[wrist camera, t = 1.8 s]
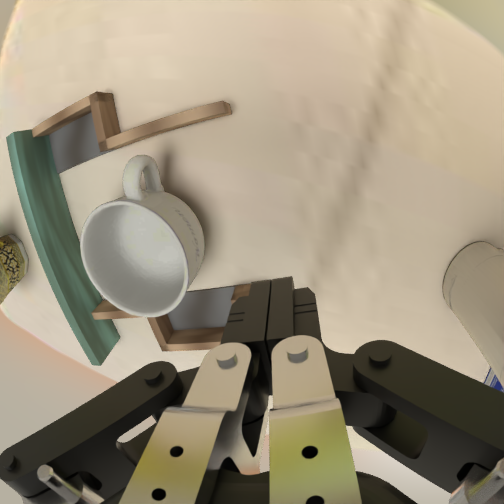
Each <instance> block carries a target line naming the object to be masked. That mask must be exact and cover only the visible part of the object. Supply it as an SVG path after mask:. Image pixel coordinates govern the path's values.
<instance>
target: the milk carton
mask: <svg viewBox="0 0 504 504" xmlns="http://www.w3.org/2000/svg"><path fill="white" fill-rule="evenodd" d="M484 384H486V385H488V386H490V387H492V388H495V389H497V390H499V391H502V392H504V388H503V386H502V385H501V383H500V381H499V380H498V378H497V376H496V375H495V373H494V371H493V370H492V368H490V371H489V373H488V375H487V378H486V380H485V382H484Z"/></svg>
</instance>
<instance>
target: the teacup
mask: <svg viewBox="0 0 504 504" xmlns="http://www.w3.org/2000/svg"><path fill="white" fill-rule="evenodd" d="M142 171H143V173H144V177H145V182H146V190H141V186H140V180H141V174H142ZM123 189H124V192H125V195H126V196H123V197H121V198H119V199H116V200H114V201H111V202H107V203H104V204H102V205H100V206H99V207H97V208H96V209H95V210H94V211H93V212H92V213H91V214H90V215H89V216H88V218H87V219H86V221H85V223H84V226H83V229H82V234H81V239H80V249H81V257H82V261H83V264H84V267H85V270H86V272H87V274H88V276H89V278H90V280H91V282H92V283H93V285H94V286H95V288H96V289H97V290H98V291H99V293H100V294H101V295H102V296H103V297H104V298H105V299H107V300H108V301H109V302H110V303H111V304H113V305H114V306H116V307H117V308H119V309H121V310H123V311H125V312H127V313H129V314H131V315H136V316H140V317H158V316H162V315H165V314H167V313H169V312H170V311H172V310H173V309H175V308H176V307H177V306H178V305H179V303H180V302H181V301H182V300H183V298H184V296H185V294H186V292H187V289H188V288H189V286H190V285H191V283H192V282H193V280H194V278H195V277H196V275H197V273H198V271H199V269H200V267H201V264H202V261H203V257H204V249H205V242H204V235H203V231H202V227H201V225H200V223H199V221H198V219H197V217H196V215H195V214H194V213H193V211H192V210H191V209H190V207H189V206H188V205H187V204H186V203H184V202H183V201H182V200H181V199H179V198H177V197H176V196H174V195H172V194H170V193H167V192H165V191H164V188H163V185H162V184H161V180H160V175H159V170H158V167H157V164H156V162H155V160H154V159H153V158H152V157H150V156H147V155H137V156H135V157H133V158H131V159H130V160H129V162H128V163H127V165H126V167H125V169H124V173H123Z"/></svg>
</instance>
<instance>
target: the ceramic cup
mask: <svg viewBox="0 0 504 504" xmlns="http://www.w3.org/2000/svg"><path fill="white" fill-rule="evenodd" d="M27 267H28V257H27V254H26V252H25V249H24V247H23V244H22V242H21V241H20V240H19V239H18V238H16V237H15V236H14V235H13V234H10V235H7V236H3V237H0V304H1V303H2V302H3V301H4V299H5V298H6V296H7V295H8V294H9V292H10V291H11V290H12V289H13V288H14V287H15V286H16V284H17V283H18V282H19V281H20V280H21V279H22V278H23V277H24V275H25V274H26V273H27Z"/></svg>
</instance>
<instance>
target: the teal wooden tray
mask: <svg viewBox="0 0 504 504" xmlns="http://www.w3.org/2000/svg"><path fill="white" fill-rule="evenodd" d="M230 114H231V109H230V105H229V104H228V103H226V102H224V101H220V102H216V103H212V104H208V105H205V106H201V107H197V108H194V109H190V110H187V111H184V112H180V113H177V114H174V115H171V116H168V117H164V118H161V119H158V120H155V121H153V122H150V123H147V124H144V125H141V126H138V127H136V128H133V129H130V130H128V131H125V132H123V133H120V128H119V124H118V119H117V114H116V109H115V104H114V99H113V94H111V93H103V92H95V93H93V94H91V95H89V96H87V97H85V98H83V99H82V100H80V101H78V102H76V103H74V104H72V105H71V106H69V107H67V108H65V109H64V110H62V111H60V112H59V113H57V114H55V115H54V116H52V117H50V118H49V119H47V120H45V121H44V122H42V123H41V124H39V125H38V126H36V127H35V128H33V129H31V130H24V131H17V132H13V133H11V134H10V135H9V136H8V137H6V139H7V145H8V151H9V156H10V161H11V166H12V170H13V175H14V179H15V183H16V187H17V191H18V195H19V198H20V202H21V205H22V209H23V212H24V215H25V219H26V222H27V225H28V228H29V231H30V234H31V237H32V240H33V242H34V245H35V248H36V251H37V253H38V256H39V259H40V261H41V264H42V266H43V269H44V271H45V273H46V276H47V278H48V281H49V283H50V285H51V287H52V290H53V292H54V294H55V296H56V298H57V300H58V303H59V305H60V307H61V309H62V311H63V313H64V315H65V317H66V319H67V321H68V323H69V325H70V327H71V328H72V330H73V332H74V334H75V336H76V338H77V340H78V341H79V343H80V345H81V347H82V348H83V350H84V352H85V354H86V355H87V357H88V359H89V360H90V362H91V364H92V365H98V366H101V365H102V363H103V362H104V360H105V359H106V357H107V356H108V354H109V353H110V352H111V350H112V349H113V347H114V346H115V344H116V343H117V342H118V340H119V339H120V336H119V334H118V332H117V330H116V328H115V326H114V324H113V322H112V320H111V319H119V318H136V317H140V316H136V315H131V314H129V313H127V312H125V311H123V310H121V309H119V308H117V307H116V306H114V305H113V304H111V303H110V302H109V301H108V300H102V298H101V296H100V293H99V291H98V290H97V289H96V288H95V286H94V285H93V283H92V282H91V280H90V278H89V276H88V274H87V272H86V270H85V267H84V264H83V261H82V257H81V249H80V243H79V240H78V237H77V234H76V231H75V228H74V225H73V222H72V219H71V216H70V213H69V210H68V206H67V203H66V199H65V196H64V192H63V189H62V185H61V181H60V178H59V173H61V172H63V171H65V170H67V169H70V168H72V167H74V166H76V165H79V164H81V163H83V162H86V161H88V160H90V159H93V158H95V157H98V156H100V155H103V154H105V153H108V152H110V151H113V150H115V149H118V148H121V147H123V146H126V145H129V144H132V143H134V142H137V141H140V140H143V139H146V138H149V137H152V136H155V135H158V134H161V133H164V132H167V131H171V130H174V129H177V128H181V127H184V126H188V125H191V124H195V123H198V122H202V121H206V120H210V119H214V118H218V117H222V116H226V115H230ZM250 286H251V284H245V285H237V286H229V287H221V288H213V289H205V290H197V291H189V292H186V294H185V296H184V298H183V300H182V301H181V302H180V303H179V305H178V306H177V307H176V308H175V309H173V310H172V311H170V312H169V313H167V314H165V315H162V316H158V317H147V319H148V321H149V323H150V326H151V328H152V330H153V332H154V335H155V337H156V339H157V341H158V343H159V345H160V347H161V350H162V351H186V350H208V349H213V348H215V347H217V346H219V345H220V343H221V339H222V336H223V332H224V329H225V326H226V323H227V319H228V316H229V312H230V309H231V306H232V304H233V303H234V302H235V301H236V300H237V299H238V298H239V297H243V296H249V291H250Z"/></svg>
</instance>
